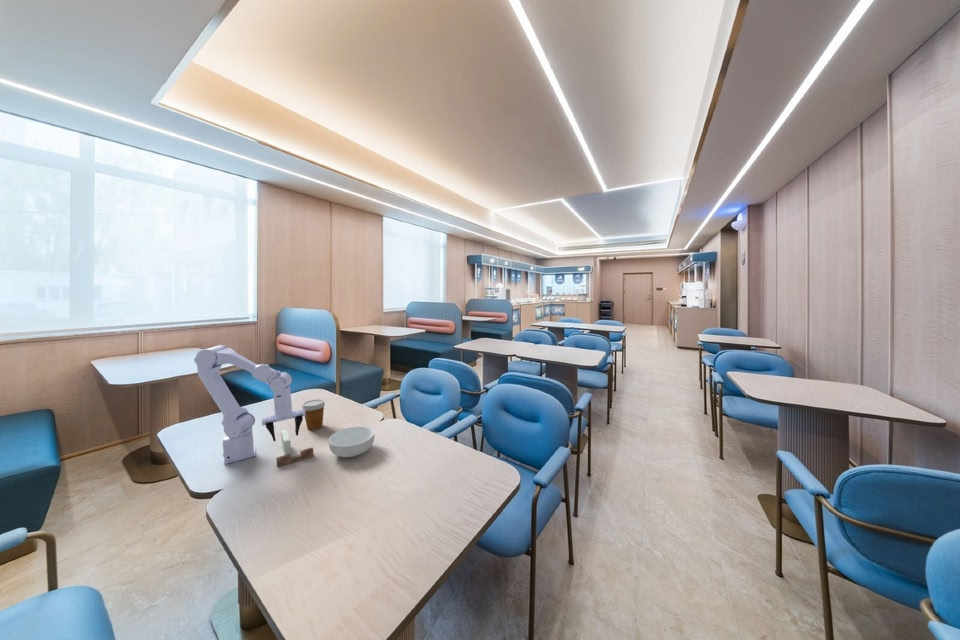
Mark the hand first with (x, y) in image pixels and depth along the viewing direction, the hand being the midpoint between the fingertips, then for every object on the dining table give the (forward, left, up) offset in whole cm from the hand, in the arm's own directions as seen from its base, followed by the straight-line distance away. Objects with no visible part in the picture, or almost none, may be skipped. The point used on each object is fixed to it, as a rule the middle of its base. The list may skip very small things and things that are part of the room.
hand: (285, 437), depth 125 cm
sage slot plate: (0, 0, -6) cm, 6 cm away
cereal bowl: (+21, -16, -6) cm, 27 cm away
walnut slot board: (+2, -9, -6) cm, 11 cm away
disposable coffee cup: (+13, +18, -6) cm, 23 cm away
